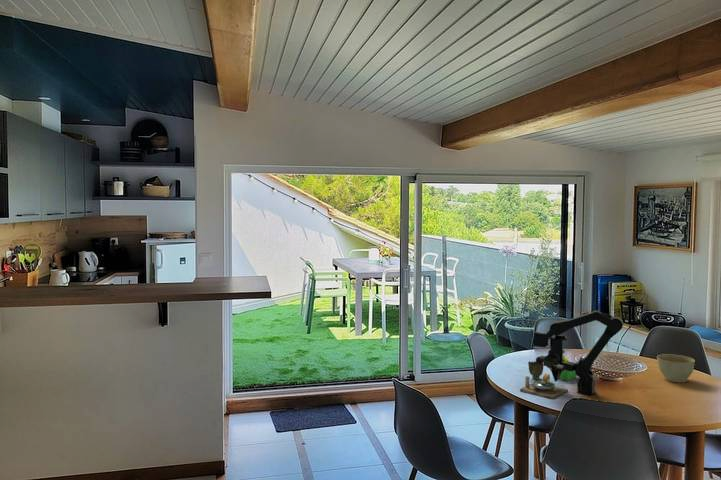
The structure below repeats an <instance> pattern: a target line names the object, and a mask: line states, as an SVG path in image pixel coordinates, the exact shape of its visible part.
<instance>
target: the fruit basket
mask: <svg viewBox="0 0 721 480" xmlns="http://www.w3.org/2000/svg"><path fill="white" fill-rule="evenodd" d="M563 359H564V362H563V363H567V362H570V361H569V359H568V358H567V357H565V356H564V355H563ZM577 377H578V376H577V375H576V373H575V370H574V371H567V370H565V369H564V370H563V371H562V373H561V375H560V377H559V379H558V380H563V381H571V380H572V379H576V378H577Z"/></svg>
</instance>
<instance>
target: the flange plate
mask: <svg viewBox="0 0 721 480" xmlns="http://www.w3.org/2000/svg"><path fill="white" fill-rule="evenodd" d="M550 374H551V373H545V374H543V376H542V380H536V381H532V383H531V384H532V386H533V387H534V388H537V389H542V390H551V389H554V388H555V386H556V385H555V383H554V382H551V375H550ZM541 381H546V384H541Z"/></svg>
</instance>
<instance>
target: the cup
mask: <svg viewBox="0 0 721 480" xmlns="http://www.w3.org/2000/svg"><path fill="white" fill-rule="evenodd" d="M527 364H528V372H529V374H530V375H531V377H532V379H533V380H539V379H540V378H541V377H540V376H542V375H543V372H544V367H545V366H544V364H543V363H542V364H538V363H536V360H534V361H533V360H532V361H528V363H527Z"/></svg>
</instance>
